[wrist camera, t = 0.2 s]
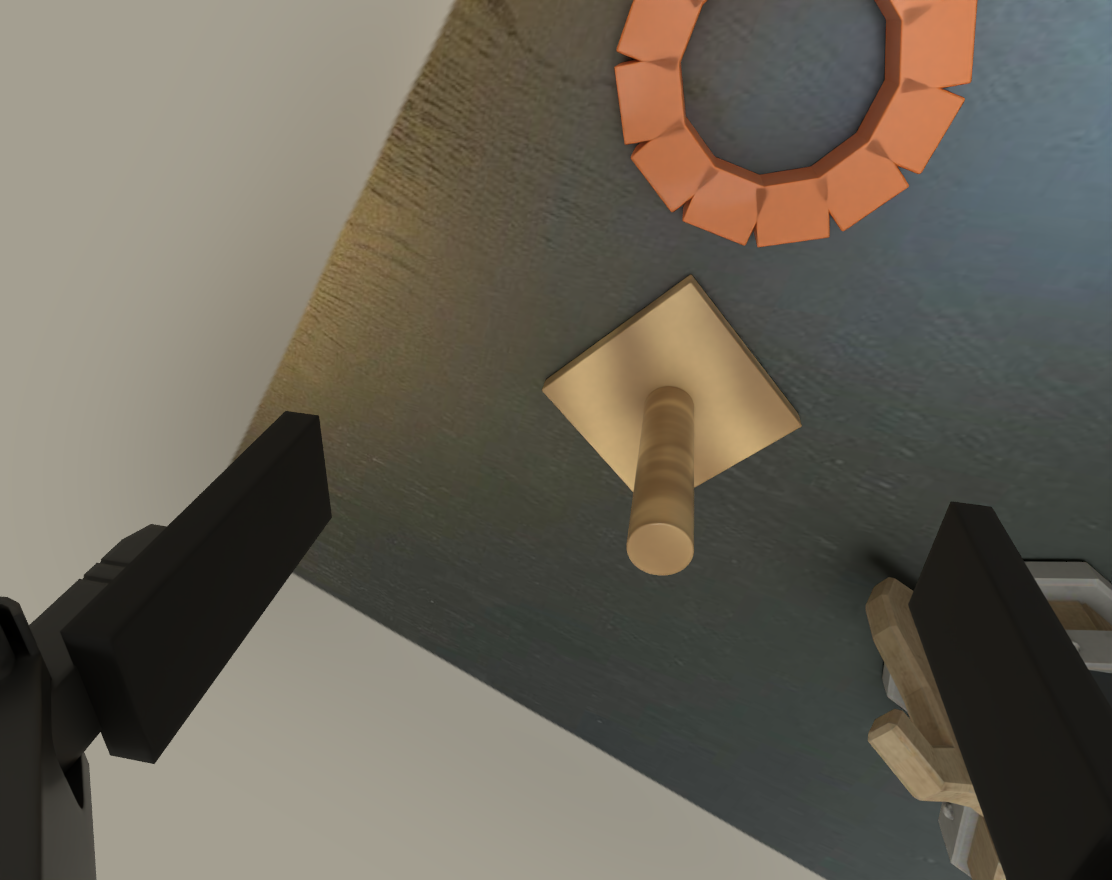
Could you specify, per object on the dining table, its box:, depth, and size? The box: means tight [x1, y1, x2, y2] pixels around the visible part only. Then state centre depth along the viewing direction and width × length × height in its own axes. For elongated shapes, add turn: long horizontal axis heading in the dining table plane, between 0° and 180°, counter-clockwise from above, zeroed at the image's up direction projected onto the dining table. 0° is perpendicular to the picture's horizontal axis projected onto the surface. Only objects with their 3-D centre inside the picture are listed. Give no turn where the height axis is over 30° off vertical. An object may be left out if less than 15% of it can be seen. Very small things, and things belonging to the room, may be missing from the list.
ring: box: [614, 0, 977, 247], centre depth 28 cm, size 12×12×2 cm
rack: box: [542, 275, 802, 575], centre depth 31 cm, size 9×9×12 cm
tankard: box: [866, 562, 1112, 880], centre depth 34 cm, size 20×13×15 cm, turn 52°
